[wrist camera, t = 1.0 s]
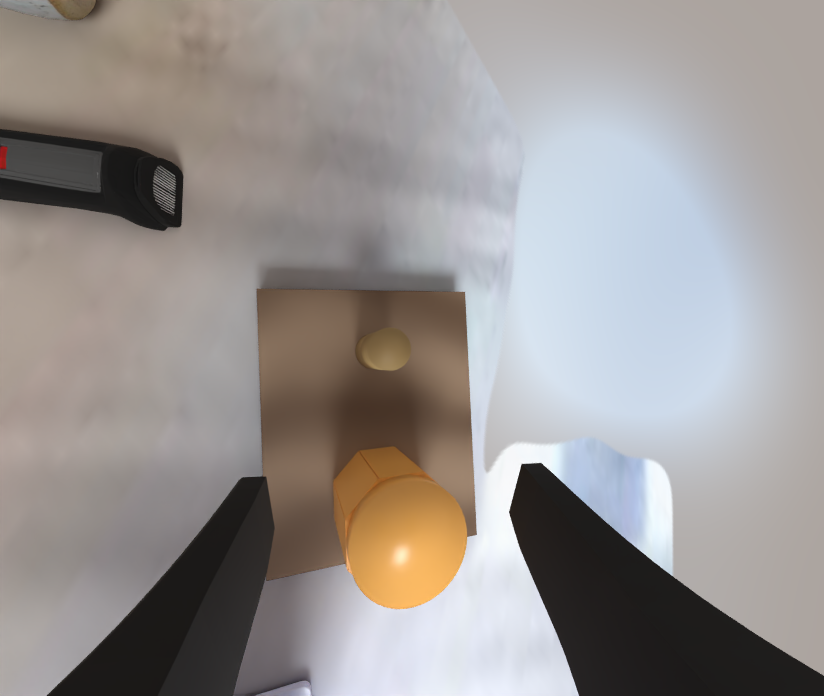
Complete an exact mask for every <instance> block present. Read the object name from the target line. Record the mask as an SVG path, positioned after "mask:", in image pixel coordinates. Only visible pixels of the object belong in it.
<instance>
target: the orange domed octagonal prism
mask: <svg viewBox="0 0 824 696" xmlns="http://www.w3.org/2000/svg"><path fill="white" fill-rule="evenodd" d="M333 481H334V482H333V496H334V520H335V524H336V528H337V532H338V536H339V540H340V544H341V548H342V552H343V556H344V560H345V564H346V568H347V570H348V572H350V573H351V574H352V575H353V577H354V579H355V582H356V583H357V585H358V587H359V588H360V590H361V591H362V592H363V593H364V595H366V596H367V597H368V598H369V599H370V600H372V601H373V602H375V603H376V604H379V605H381V606H384V607H387V608H393V609H407V608H412V607H416V606H418V605H421V604H424V603H426V602H428V601H429V600H431V599H433V598H434V597H436V596H437V595H438V594H439V593H441V592H442V591H443V590H444V589H445V588H446V587H447V586H448V585H449V583H450V582H451V581H452V579H453V578H454V576H455V575H456V573H457V572H458V570H459V568H460V565H461V563H462V560H463V558H464V554H465V550H466V544H467V527H466V522H465V517H464V515H463V512H462V510H461V508H460V506H459V504H458V503H457V501H456V500H455V498H454V497H453V496H452V495H451V494H450V493H448V492H447V491H446V490H445V489H444V488H443V487H441V486H440V485H439V484H438V483H437V482H436V481H435V480H433V479H432V478H431V477H430V476H429V475H428V474H427V473H425V472H424V471H423V470H422V469H421V468H420V467H418V466H417V465H416V464H415V463H414V462H412V461H411V460H410V459H409V458H408V457H407V456H405V455H404V454H403V453H402V452H401V451H399V450H398V449H397V448H396V447H394V446H392V447H384V448H376V449H368V450H360V451H358V452H357V453H356V454H355V456H354V457H353V458H352V459H351V460H350V462H349V463H348V464H347V465H346V466H345V467H344V469H343V470H342V471H341V472H340V473H339V475H338V476H337V477H336V478H335V479H334V480H333Z"/></svg>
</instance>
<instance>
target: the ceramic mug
mask: <svg viewBox="0 0 824 696" xmlns="http://www.w3.org/2000/svg"><path fill="white" fill-rule="evenodd" d="M95 3H96V0H0V7H3V8H6V9H10V10H13V11H17V12H20V13H24V14H29V15H34V16H38V17H43V18H48V19H57V20H79V19H83V18H84V17H86V16H87V15H88V14H89V13H90V12H91V10H92V9H93V7H94V6H95Z"/></svg>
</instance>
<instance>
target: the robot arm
mask: <svg viewBox="0 0 824 696" xmlns="http://www.w3.org/2000/svg"><path fill="white" fill-rule="evenodd" d="M509 513H510V517H511V520H512V524H513V527H514V531H515V534H516V537H517V540H518V543H519V547H520V549H521V552H522V554H523V557H524V559H525V561H526V564H527V566H528V568H529V571H530V573H531V575H532V578H533V580H534V582H535V585H536V587H537V589H538V592H539V594H540V596H541V598H542V601H543V603H544V605H545V608H546V610H547V612H548V615H549V617H550V619H551V621H552V624H553V626H554V628H555V631H556V633H557V635H558V638H559V640H560V643H561V645H562V648H563V651H564V653H565V656H566V659H567V661H568V664H569V667H570V670H571V673H572V676H573V679H574V682H575V685H576V688H577V691H578V694H579V696H824V676H823V675H822V674H820V673H818V672H817V671H815V670H813V669H811V668H810V667H808V666H806V665H805V664H803V663H802V662H800V661H798V660H797V659H795V658H793V657H791V656H790V655H788V654H787V653H785V652H783V651H782V650H780V649H779V648H777V647H775V646H774V645H772V644H770V643H769V642H767V641H766V640H764V639H763V638H761V637H759V636H758V635H756V634H755V633H753V632H752V631H750V630H748V629H747V628H745V627H744V626H743V625H741V624H740V623H738V622H737V621H735V620H733V619H732V618H731V617H729V616H728V615H726V614H724V613H723V612H722V611H720V610H719V609H717V608H716V607H714V606H713V605H711V604H710V603H709V602H707V601H706V600H704V599H703V598H701V597H700V596H698V595H697V594H696V593H694V592H693V591H692V590H690V589H689V588H688V587H686V586H685V585H683V584H682V583H681V582H680V581H678V580H677V579H675V578H674V577H673V576H671V575H670V574H669V573H667V572H666V571H665V570H663V569H662V568H661V567H660V566H658V565H657V564H656V563H654V562H653V561H652V560H651V559H649V558H648V557H647V556H646V555H644V554H643V553H642V552H641V551H640V550H638V549H637V548H636V547H635V546H633V545H632V544H631V543H630V542H629V541H627V540H626V539H625V538H624V537H623V536H621V535H620V534H619V533H618V532H617V531H616V530H614V529H613V528H612V527H611V526H610V525H609V524H607V523H606V522H605V521H604V520H603V519H602V518H601V517H600V516H598V515H597V514H596V513H595V512H594V511H593V510H592V509H591V508H590V507H588V506H587V505H586V504H585V503H584V502H583V501H582V500H581V499H580V498H579V497H578V496H576V495H575V494H574V493H573V492H572V491H571V490H570V489H569V488H568V487H567V486H566V485H565V484H564V483H562V482H561V481H560V480H559V479H558V478H557V477H556V476H555V475H554V474H553V473H552V472H551V471H550V470H548V469H547V468H546V467H545V466H544V465H543V464H542V463H533V464H522V465H521V469H520V473H519V476H518V480H517V484H516V488H515V492H514V496H513V499H512V503H511V507H510V511H509ZM274 530H275V526H274V520H273V514H272V508H271V502H270V496H269V490H268V484H267V477H266V476H264V477H243V478H241V479H240V480H239V481H238V482H237V484H236V485H235V486H234V488H233V489H232V491H231V492H230V493H229V495H228V496H227V497H226V499H225V500H224V501H223V503H222V504H221V505H220V507H219V508H218V509H217V511H216V512H215V513H214V514H213V516H212V517H211V518H210V520H209V521H208V522H207V523H206V525H205V526H204V527H203V529H202V530H201V531H200V532H199V533H198V535H197V536H196V537H195V538H194V540H193V541H192V542H191V543H190V544H189V546H188V547H187V548H186V549H185V551H184V552H183V553H182V554H181V556H180V557H179V558H178V559H177V560H176V561H175V563H174V564H173V565H172V566H171V567H170V568H169V569H168V571H167V572H166V573H165V574H164V575H163V576H162V577H161V579H160V580H159V581H158V582H157V583H156V584H155V585H154V587H153V588H152V589H151V590H150V591H149V592H148V593H147V594H146V596H145V597H144V598H143V599H142V600H141V601H140V602H139V603H138V604H137V605H136V607H135V608H134V609H133V610H132V611H131V612H130V613H129V614H128V615H127V616H126V617H125V618H124V619H123V620H122V621H121V623H120V624H119V625H118V626H117V627H116V628H115V629H114V630H113V631H112V632H111V633H110V634H109V635H108V636H107V637H106V638H105V639H104V640H103V641H102V642H101V643H100V644H99V645H98V646H97V647H96V648H95V649H94V650H93V651H92V652H91V653H90V654H89V655H88V656H87V657H86V658H85V659H84V660H83V661H82V662H81V663H80V664H79V665H78V666H77V667H76V668H75V669H74V670H73V671H72V672H71V673H70V674H69V675H68V676H66V677H65V678H64V679H63V680H62V681H61V682H60V683H59V684H58V685H57V686H56V687H55V688H54V689H53V690H52V691H51V692H50V693H49V694H48V695H47V696H233V693H234V689H235V685H236V681H237V677H238V673H239V669H240V665H241V662H242V658H243V655H244V651H245V648H246V644H247V641H248V637H249V634H250V630H251V627H252V623H253V620H254V616H255V613H256V609H257V606H258V602H259V598H260V595H261V591H262V588H263V584H264V581H265V577H266V573H267V570H268V564H269V559H270V553H271V548H272V542H273V536H274ZM255 696H312V695H311V685H310V683H309V682H308V681H300V682H297V683H293V684H290V685H287V686H284V687H281V688H277V689H274V690H271V691H268V692H264V693H261V694H258V695H255Z"/></svg>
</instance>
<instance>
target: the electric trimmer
mask: <svg viewBox="0 0 824 696" xmlns="http://www.w3.org/2000/svg"><path fill="white" fill-rule="evenodd" d="M100 187H101V188H100ZM182 196H183V175H182V172H181V170H180V169H179V168H178V167H177V166H176V165H175V164H173V163H172V162H170V161H167V160H165V159H162V158H157V157H155V156H153V155H151V154H149V153H147V152H145V151H142V150H139V149H137V148H131V147H125V146H119V145H114V144H108V143H103V142H97V141H89V140H82V139H74V138H66V137H58V136H51V135H43V134H35V133H27V132H20V131H12V130H4V129H0V199H2V200H11V201H19V202H28V203H36V204H44V205H52V206H61V207H69V208H77V209H84V210H90V211H96V212H102V213H108V214H113V215H117V216H120V217H123V218H125V219H127V220H129V221H131V222H133V223H135V224H137V225H140V226H143V227H146V228H150V229H155V230H161V231H165V230H166V229H167V227H180V226H181V220H182Z"/></svg>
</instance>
